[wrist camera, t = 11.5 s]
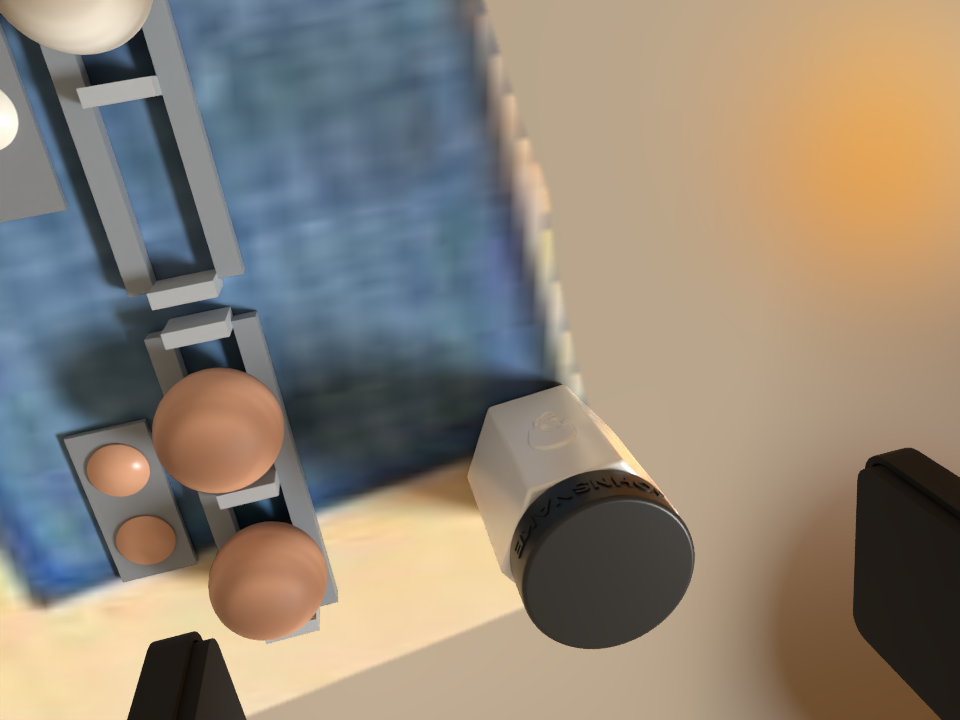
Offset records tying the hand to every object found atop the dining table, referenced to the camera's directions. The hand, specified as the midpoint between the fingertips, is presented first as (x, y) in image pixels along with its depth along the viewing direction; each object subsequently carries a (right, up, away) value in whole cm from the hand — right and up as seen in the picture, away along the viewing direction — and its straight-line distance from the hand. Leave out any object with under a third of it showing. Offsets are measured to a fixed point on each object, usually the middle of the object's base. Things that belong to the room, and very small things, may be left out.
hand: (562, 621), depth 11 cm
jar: (+2, -2, +34) cm, 35 cm away
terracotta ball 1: (-14, +1, +29) cm, 32 cm away
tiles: (-21, +5, +27) cm, 34 cm away
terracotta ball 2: (-13, -7, +32) cm, 35 cm away
